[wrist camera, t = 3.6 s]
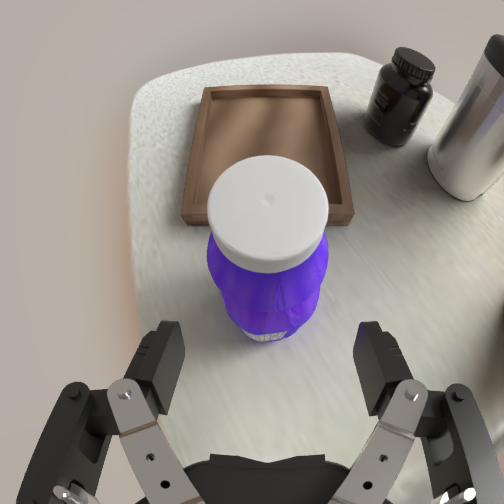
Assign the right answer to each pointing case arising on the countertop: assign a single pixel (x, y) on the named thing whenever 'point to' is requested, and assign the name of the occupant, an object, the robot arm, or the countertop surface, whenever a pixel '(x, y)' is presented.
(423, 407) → the robot arm
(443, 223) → the countertop surface
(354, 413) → the countertop surface
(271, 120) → the walnut tray
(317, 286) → the bottle
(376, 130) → the supplement bottle
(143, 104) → the countertop surface
